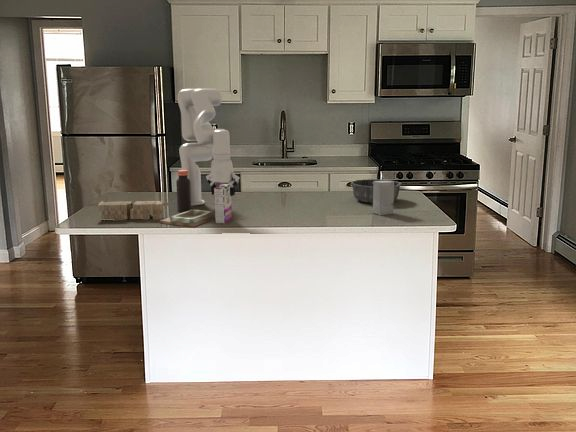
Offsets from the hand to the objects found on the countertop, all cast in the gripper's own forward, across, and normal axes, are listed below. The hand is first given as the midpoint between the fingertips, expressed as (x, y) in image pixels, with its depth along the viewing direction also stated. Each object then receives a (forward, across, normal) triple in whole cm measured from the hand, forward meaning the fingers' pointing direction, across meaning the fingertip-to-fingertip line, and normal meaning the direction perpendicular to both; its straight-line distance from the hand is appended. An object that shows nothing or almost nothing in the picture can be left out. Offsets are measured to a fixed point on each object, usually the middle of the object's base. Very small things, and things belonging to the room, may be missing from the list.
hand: (223, 194), depth 285 cm
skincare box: (+13, +61, +46) cm, 78 cm away
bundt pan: (+12, +48, +76) cm, 91 cm away
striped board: (+12, -16, -6) cm, 20 cm away
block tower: (+12, -43, -12) cm, 46 cm away
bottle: (+12, -31, +12) cm, 35 cm away
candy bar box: (+12, -1, 0) cm, 13 cm away
